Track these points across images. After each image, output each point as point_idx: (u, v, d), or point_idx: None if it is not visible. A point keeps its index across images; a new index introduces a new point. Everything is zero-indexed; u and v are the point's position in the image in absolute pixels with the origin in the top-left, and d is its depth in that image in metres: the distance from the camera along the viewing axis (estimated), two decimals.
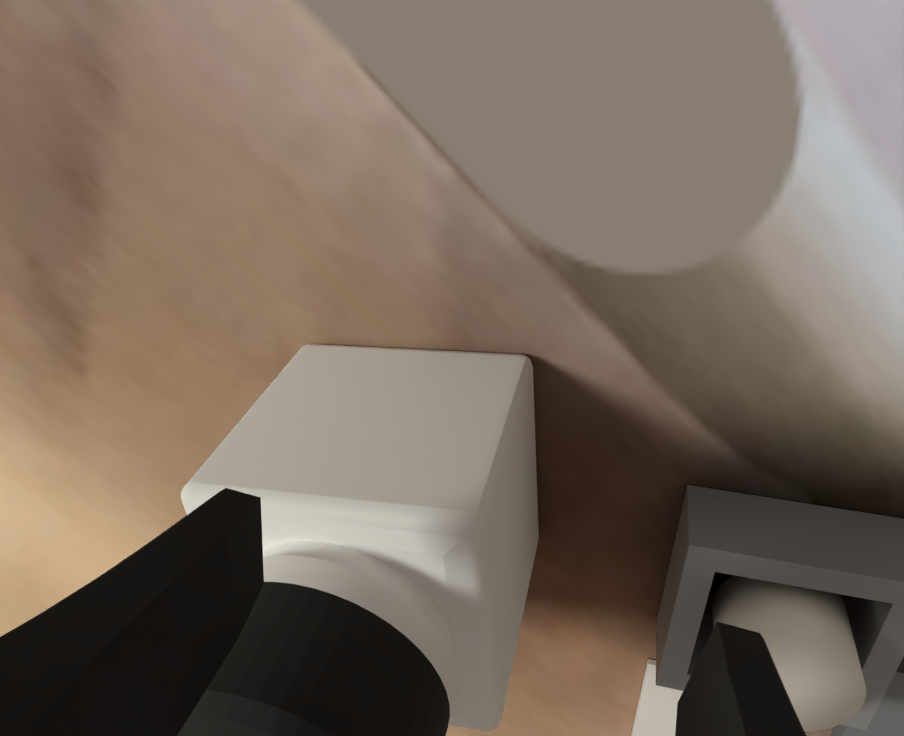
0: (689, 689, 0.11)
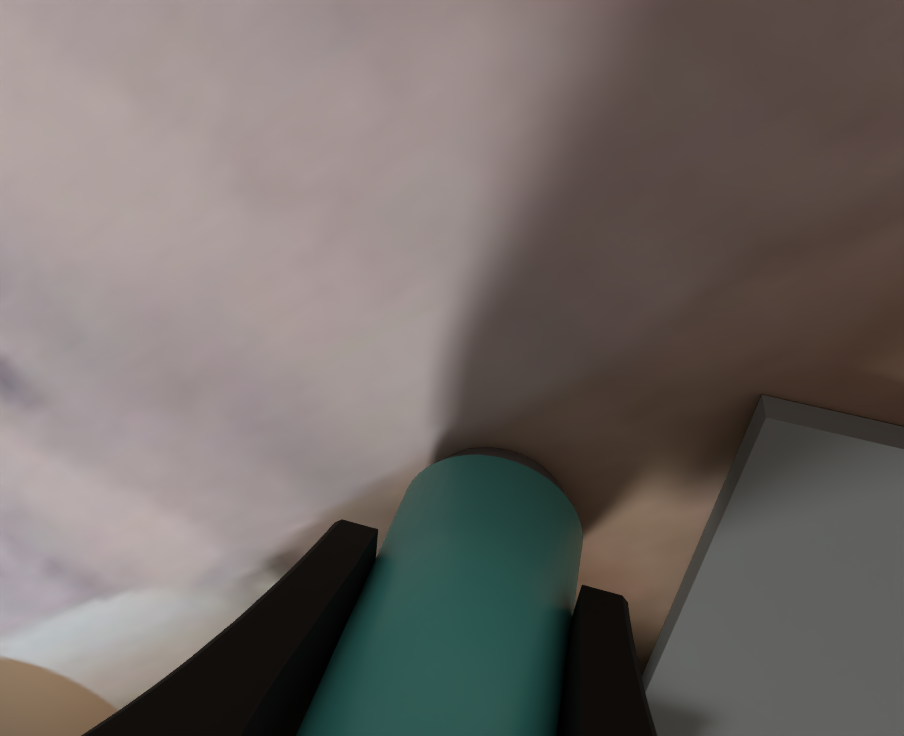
0: None
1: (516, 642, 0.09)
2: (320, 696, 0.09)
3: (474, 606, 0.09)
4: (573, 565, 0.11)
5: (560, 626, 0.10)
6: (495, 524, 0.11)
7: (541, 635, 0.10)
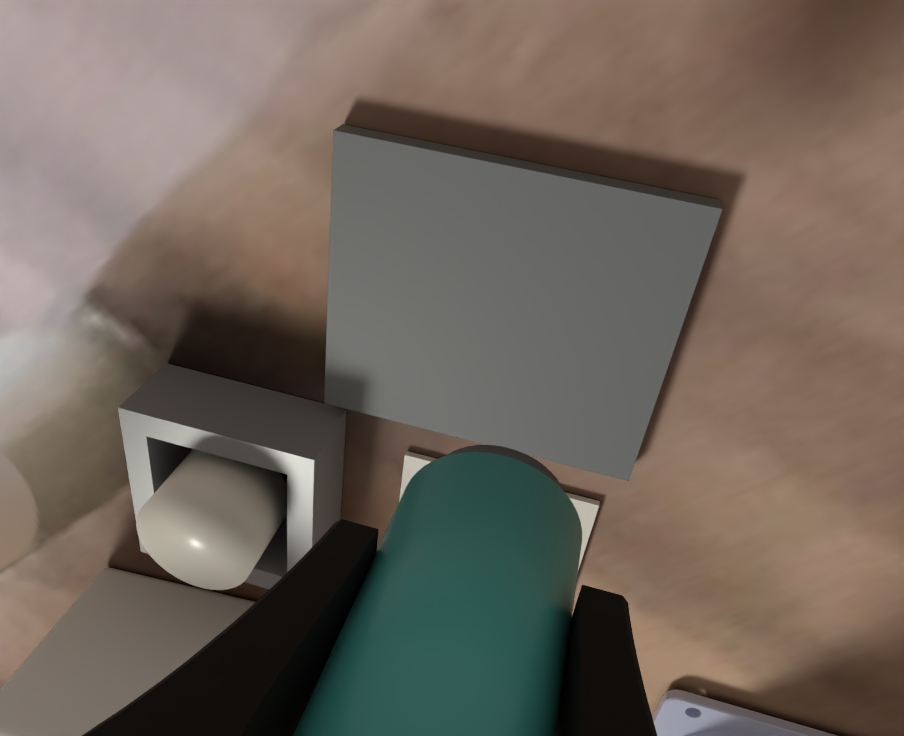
0: None
1: (515, 639, 0.09)
2: (318, 693, 0.09)
3: (473, 603, 0.09)
4: (572, 563, 0.11)
5: (559, 623, 0.10)
6: (494, 521, 0.11)
7: (540, 631, 0.10)
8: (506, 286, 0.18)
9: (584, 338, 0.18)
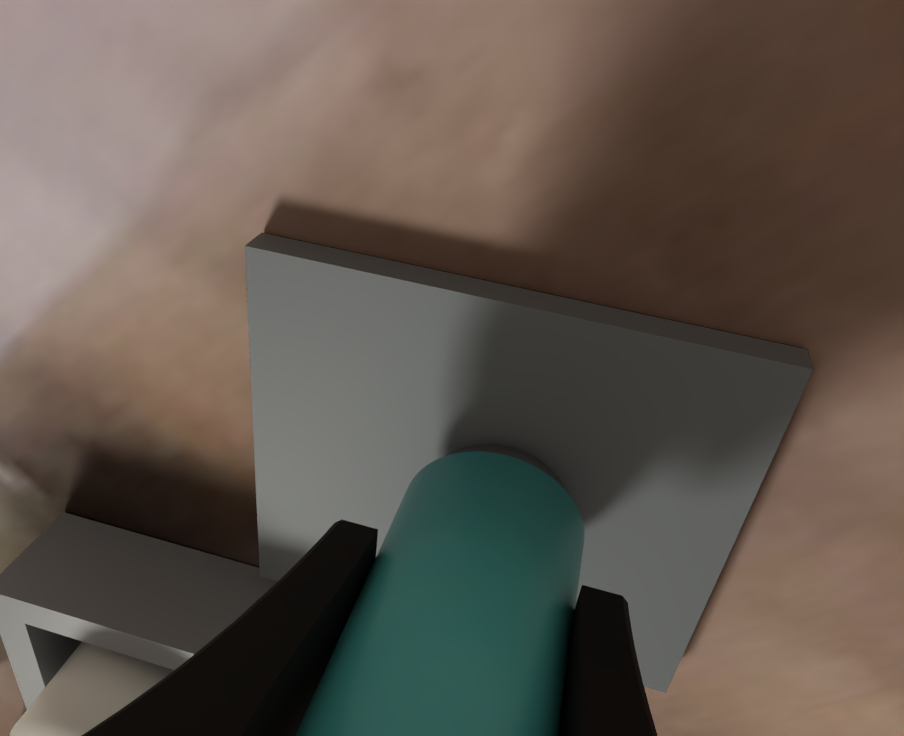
0: None
1: (518, 638, 0.09)
2: (321, 693, 0.09)
3: (476, 603, 0.09)
4: (574, 562, 0.11)
5: (562, 623, 0.10)
6: (497, 521, 0.11)
7: (543, 631, 0.10)
8: None
9: (605, 523, 0.13)
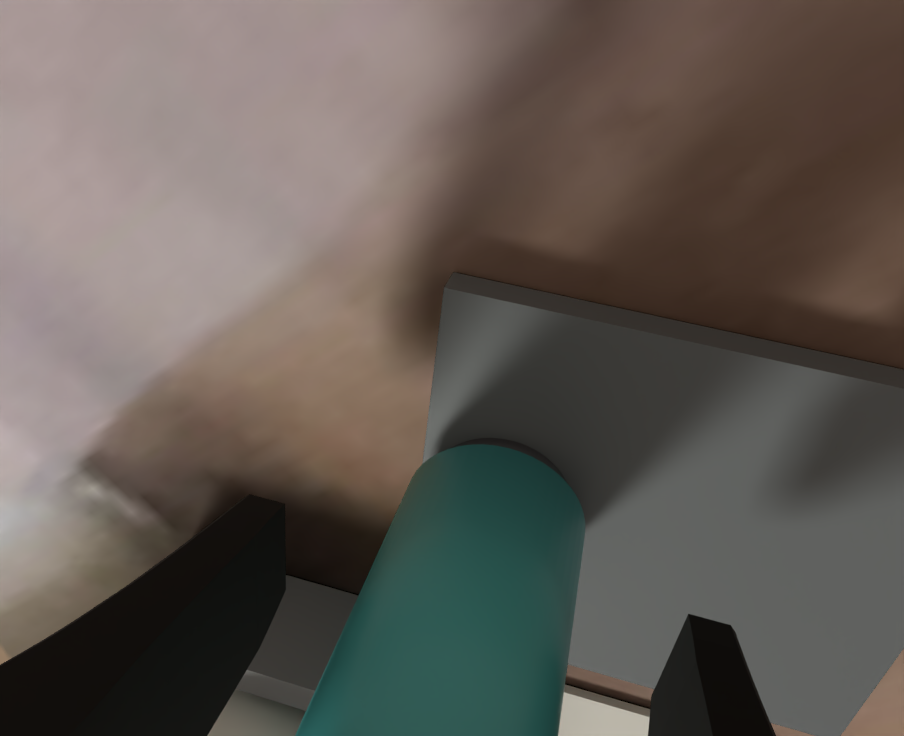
0: (662, 681, 0.11)
1: (520, 627, 0.09)
2: (327, 679, 0.09)
3: (479, 592, 0.10)
4: (576, 553, 0.12)
5: (563, 612, 0.10)
6: (499, 512, 0.11)
7: (545, 619, 0.10)
8: (689, 501, 0.13)
9: (800, 573, 0.13)
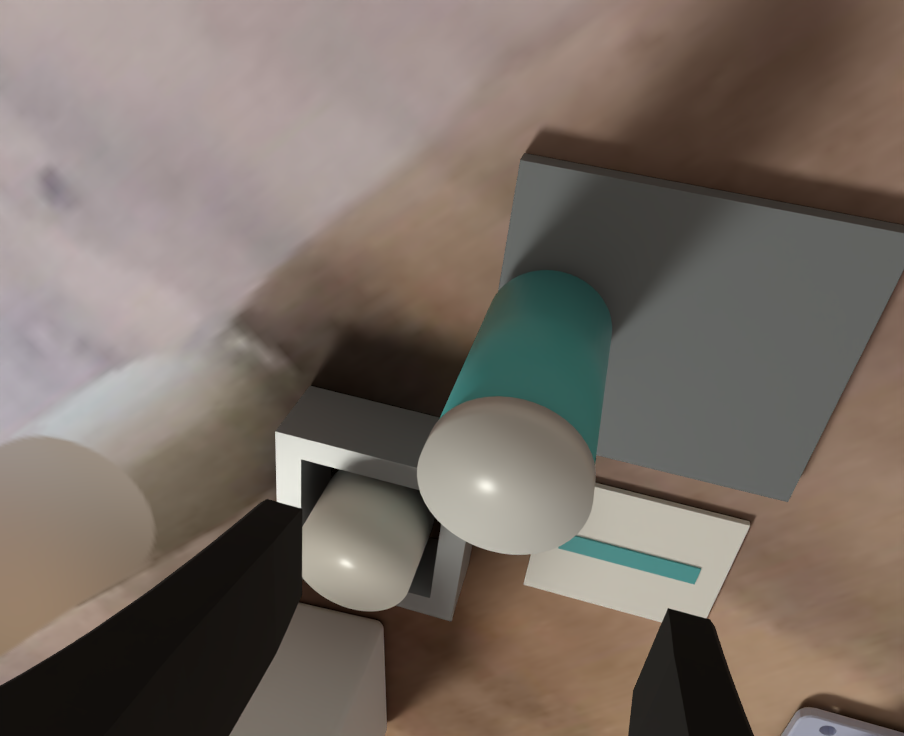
0: (643, 676, 0.11)
1: (578, 351, 0.15)
2: (462, 377, 0.15)
3: (552, 331, 0.16)
4: (607, 335, 0.17)
5: (602, 359, 0.16)
6: (559, 300, 0.17)
7: (591, 354, 0.16)
8: (682, 311, 0.18)
9: (758, 362, 0.19)
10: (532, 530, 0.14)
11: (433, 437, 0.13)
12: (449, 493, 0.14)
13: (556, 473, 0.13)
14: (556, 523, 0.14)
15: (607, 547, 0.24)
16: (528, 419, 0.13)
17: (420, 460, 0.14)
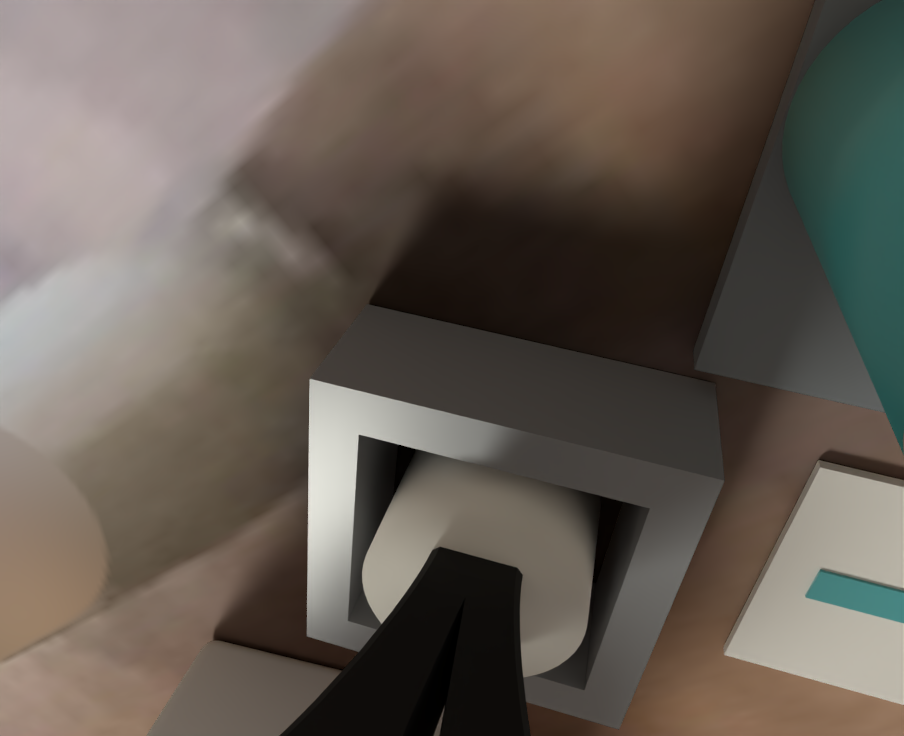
0: None
1: None
2: None
3: None
4: None
5: None
6: None
7: None
8: None
9: None
10: None
11: None
12: None
13: None
14: None
15: None
16: None
17: None
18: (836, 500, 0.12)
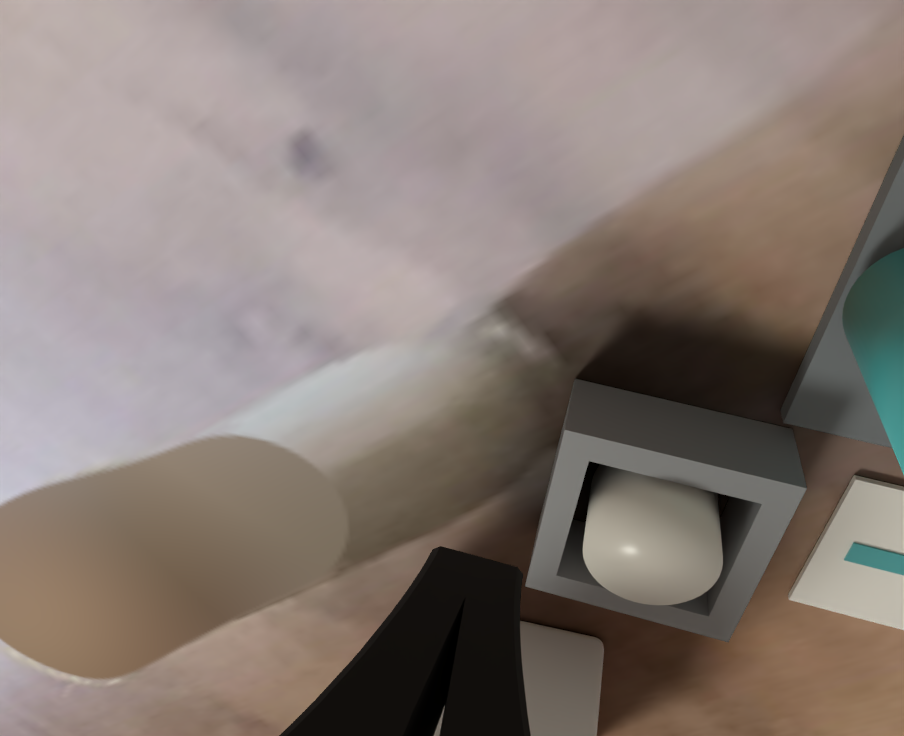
0: None
1: None
2: None
3: None
4: None
5: None
6: None
7: None
8: None
9: None
10: None
11: None
12: None
13: None
14: None
15: None
16: None
17: None
18: (864, 499, 0.20)
